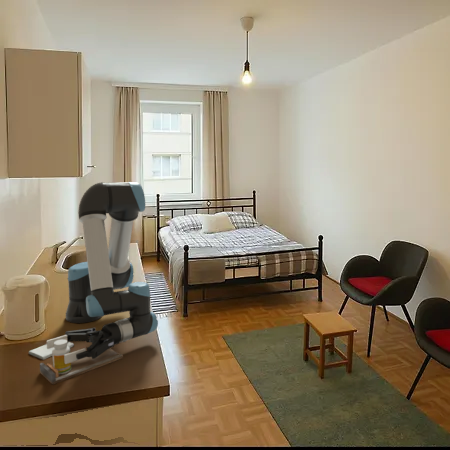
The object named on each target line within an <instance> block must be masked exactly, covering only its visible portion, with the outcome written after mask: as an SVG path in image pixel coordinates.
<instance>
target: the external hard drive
mask: <svg viewBox="0 0 450 450" xmlns="http://www.w3.org/2000/svg"><path fill="white" fill-rule="evenodd" d="M67 346H68V347H69V348H70V349H71V348H73V347H75V344H74V343H73V342H68V345H67ZM53 349H54V347H53V348H50V349H47V343H45V344H44V345H41V346H39V347H37V348H34V349H31V350H29V351H28V354H29V355H31V356H33V357H35V358H38V359H41V360H43V361H44V360H46V359H48V358H51V357H52V350H53Z"/></svg>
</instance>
